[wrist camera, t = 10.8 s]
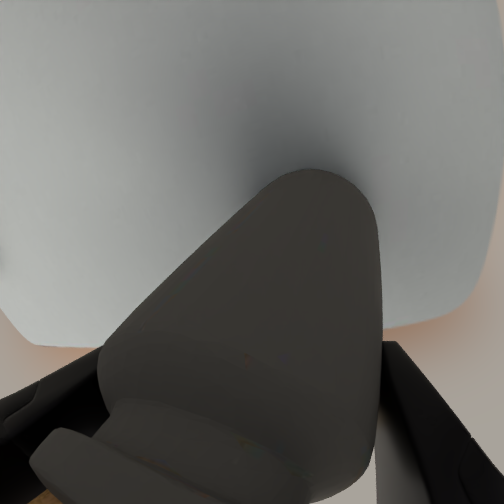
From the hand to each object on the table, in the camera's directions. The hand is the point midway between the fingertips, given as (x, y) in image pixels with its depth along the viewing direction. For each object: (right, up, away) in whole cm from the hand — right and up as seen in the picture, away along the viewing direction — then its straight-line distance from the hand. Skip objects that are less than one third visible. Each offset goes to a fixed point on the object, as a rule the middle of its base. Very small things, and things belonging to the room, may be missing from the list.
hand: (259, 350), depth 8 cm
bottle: (+3, +4, +7) cm, 8 cm away
